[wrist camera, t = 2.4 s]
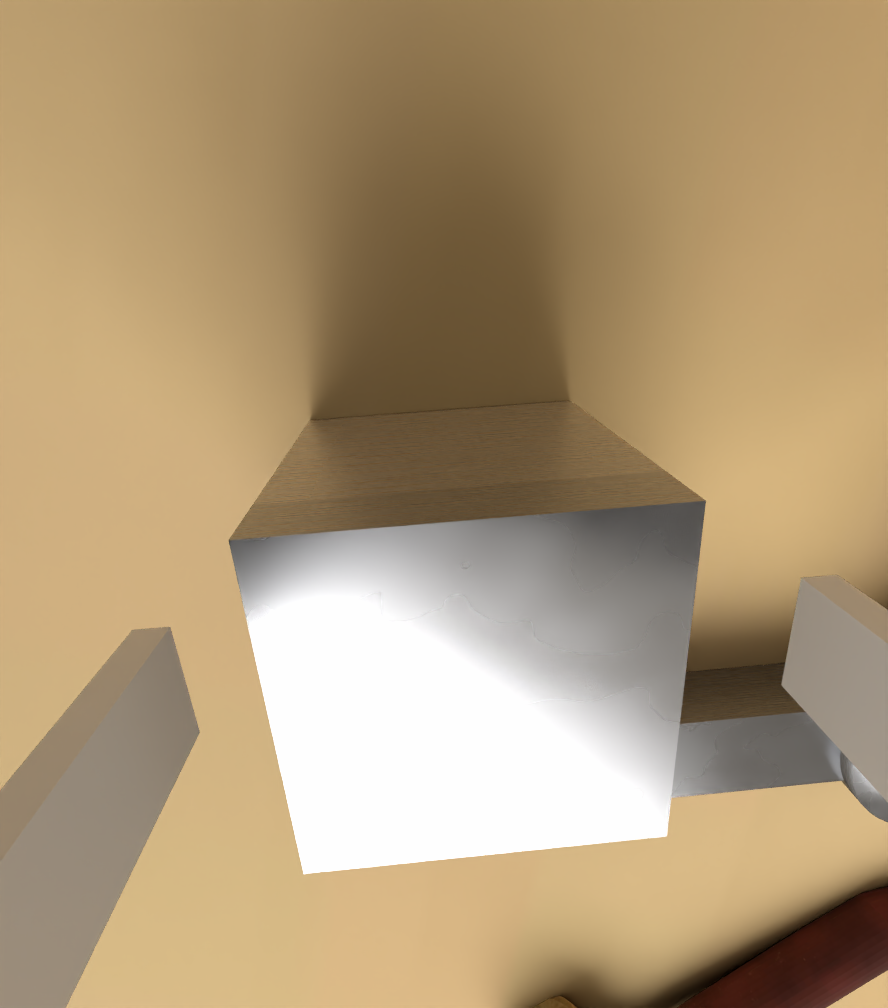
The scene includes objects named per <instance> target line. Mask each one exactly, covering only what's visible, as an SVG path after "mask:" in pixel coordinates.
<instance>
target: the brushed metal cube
mask: <svg viewBox="0 0 888 1008" xmlns="http://www.w3.org/2000/svg"><path fill="white" fill-rule="evenodd" d="M705 503H706V501H705V500H704V499H703V498H701V497H700V496H699V495H697V494H696V493H695V492H693V491H692V490H691V489H689V488H688V487H687V486H685V485H684V484H682V483H681V482H680V481H678V480H677V479H676V478H674V477H673V476H672V475H670V474H669V473H668V472H666V471H665V470H663V469H662V468H661V467H659V466H658V465H657V464H655V463H654V462H653V461H651V460H650V459H649V458H647V457H646V456H644V455H643V454H642V453H640V452H639V451H638V450H636V449H635V448H634V447H632V446H631V445H630V444H628V443H627V442H626V441H624V440H623V439H621V438H620V437H619V436H617V435H616V434H615V433H613V432H612V431H611V430H609V429H608V428H607V427H605V426H604V425H602V424H601V423H600V422H598V421H597V420H596V419H594V418H593V417H592V416H590V415H589V414H588V413H586V412H585V411H584V410H582V409H581V408H579V407H578V406H577V405H575V404H574V403H573V402H571V401H560V402H546V403H533V404H520V405H507V406H494V407H481V408H467V409H454V410H441V411H428V412H415V413H402V414H388V415H375V416H362V417H349V418H336V419H323V420H310V421H309V423H308V424H307V426H306V427H305V428H304V430H303V431H302V433H301V434H300V436H299V437H298V439H297V440H296V442H295V443H294V445H293V446H292V448H291V449H290V451H289V452H288V454H287V455H286V456H285V458H284V459H283V461H282V462H281V464H280V465H279V467H278V468H277V470H276V471H275V473H274V474H273V476H272V477H271V479H270V480H269V482H268V483H267V484H266V486H265V487H264V489H263V490H262V492H261V493H260V495H259V496H258V498H257V499H256V501H255V502H254V504H253V505H252V507H251V508H250V510H249V511H248V512H247V514H246V515H245V517H244V518H243V520H242V521H241V523H240V524H239V526H238V527H237V529H236V530H235V532H234V533H233V535H232V536H231V538H230V539H229V544H230V549H231V553H232V557H233V562H234V566H235V571H236V575H237V580H238V584H239V588H240V593H241V597H242V602H243V606H244V611H245V615H246V620H247V624H248V628H249V633H250V637H251V642H252V646H253V651H254V655H255V660H256V664H257V668H258V673H259V677H260V682H261V686H262V691H263V695H264V699H265V704H266V708H267V713H268V717H269V722H270V726H271V731H272V735H273V739H274V744H275V748H276V753H277V757H278V762H279V766H280V770H281V775H282V779H283V784H284V788H285V793H286V797H287V802H288V806H289V810H290V815H291V819H292V824H293V828H294V833H295V837H296V842H297V846H298V850H299V855H300V859H301V864H302V868H303V873H304V874H307V873H316V872H326V871H336V870H345V869H355V868H365V867H374V866H384V865H393V864H403V863H413V862H422V861H432V860H442V859H451V858H461V857H471V856H480V855H490V854H500V853H509V852H519V851H529V850H538V849H548V848H557V847H567V846H577V845H586V844H596V843H606V842H615V841H625V840H635V839H644V838H654V837H664V836H667V829H668V820H669V812H670V803H671V795H672V786H673V778H674V769H675V760H676V752H677V743H678V735H679V726H680V718H681V709H682V700H683V692H684V683H685V675H686V666H687V658H688V649H689V640H690V632H691V623H692V615H693V606H694V598H695V589H696V580H697V572H698V563H699V555H700V546H701V537H702V529H703V520H704V512H705Z"/></svg>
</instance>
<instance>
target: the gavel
mask: <svg viewBox="0 0 888 1008" xmlns="http://www.w3.org/2000/svg"><path fill="white" fill-rule="evenodd" d="M887 970H888V886H887V887H883V888H879V889H875V890H871V891H867V892H863V893H861V894H859V895H857V896H855V897H854V898H852V899H850V900H848V901H847V902H845V903H843V904H841V905H840V906H838V907H836V908H835V909H833V910H831V911H830V912H828V913H826V914H824V915H823V916H821V917H819V918H818V919H816V920H814V921H813V922H811V923H809V924H808V925H806V926H804V927H802V928H801V929H799V930H798V931H796V932H794V933H793V934H791V935H790V936H788V937H786V938H785V939H783V940H782V941H780V942H778V943H777V944H775V945H774V946H772V947H771V948H769V949H767V950H766V951H764V952H763V953H761V954H760V955H758V956H756V957H755V958H753V959H752V960H750V961H749V962H747V963H745V964H744V965H742V966H741V967H739V968H738V969H736V970H734V971H733V972H731V973H730V974H728V975H727V976H725V977H723V978H722V979H720V980H719V981H717V982H716V983H714V984H712V985H711V986H709V987H708V988H706V989H705V990H703V991H701V992H700V993H698V994H697V995H695V996H694V997H692V998H690V999H689V1000H687V1001H686V1002H684V1003H683V1004H681V1005H679V1006H678V1007H676V1008H826V1007H828V1006H830V1005H831V1004H833V1003H835V1002H836V1001H838V1000H839V999H841V998H843V997H844V996H846V995H848V994H849V993H851V992H852V991H854V990H856V989H857V988H859V987H861V986H862V985H864V984H866V983H867V982H869V981H870V980H872V979H874V978H875V977H877V976H879V975H880V974H882V973H884V972H885V971H887ZM533 1008H577V1007H576V1006H574V1005H573V1004H572V1003H570V1002H569V1001H568V1000H566V999H565V998H564V997H561V996H557V997H553V998H550V999H548V1000H546V1001H544V1002H542V1003H540V1004H538V1005H537V1006H535V1007H533Z"/></svg>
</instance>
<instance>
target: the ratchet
mask: <svg viewBox="0 0 888 1008" xmlns="http://www.w3.org/2000/svg"><path fill="white" fill-rule="evenodd" d="M784 667H785V663H778V664H768V665H757V666H746V667H735V668H725V669H714V670H703V671H693V672H686V675H685V683H684V692H683V700H682V709H681V718H680V726H679V735H678V743H677V752H676V760H675V769H674V778H673V786H672V795H671V798H675V797H684V796H694V795H704V794H714V793H724V792H734V791H744V790H753V789H763V788H773V787H783V786H793V785H803V784H813V783H823V782H832V781H842V782H843V783H844V784H845V785H846V787H847V788H848V789H849V790H850V791H851V792H852V794H853V795H854V796H855V797H856V798H857V799H858V800H859V802H860V803H861V804H862V805H863V806H864V807H865V808H866V809H867V810H868V811H869V812H870V813H871V814H873V815H874V816H876V817H877V818H879V819H882V820H884V821H886V822H888V802H887V801H886V800H885V799H884V798H883V797H882V796H881V794H880V793H879V792H878V791H877V790H876V789H875V788H874V787H873V786H872V785H871V783H870V782H869V781H868V780H867V779H866V778H865V777H864V776H863V775H862V774H861V772H860V771H859V770H858V769H857V768H856V767H855V766H854V765H853V764H852V762H851V761H850V760H849V759H848V758H847V757H846V756H845V755H844V754H843V753H842V751H841V750H840V749H839V748H838V747H837V746H836V745H835V744H834V743H833V742H832V740H831V739H830V738H829V737H828V736H827V735H826V734H825V733H824V732H823V731H822V729H821V728H820V727H819V726H818V725H817V724H816V723H815V722H814V721H813V720H812V718H811V717H810V716H809V715H808V714H807V713H806V712H805V711H804V710H803V709H802V707H801V706H800V705H799V704H798V703H797V702H796V701H795V700H794V699H793V698H792V696H791V695H790V694H789V693H788V692H787V691H786V690H785V689H784V688H783V686H782V685H781V683H782V678H783V673H784Z"/></svg>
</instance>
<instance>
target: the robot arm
mask: <svg viewBox="0 0 888 1008" xmlns="http://www.w3.org/2000/svg"><path fill="white" fill-rule="evenodd" d="M781 685H782V686H783V688H784V689H785V690H786V691H787V692H788V693H789V694H790V695H791V696H792V698H793V699H794V700H795V701H796V702H797V703H798V704H799V705H800V706H801V707H802V709H803V710H804V711H805V712H806V713H807V714H808V715H809V716H810V717H811V718H812V720H813V721H814V722H815V723H816V724H817V725H818V726H819V727H820V728H821V729H822V731H823V732H824V733H825V734H826V735H827V736H828V737H829V738H830V739H831V740H832V742H833V743H834V744H835V745H836V746H837V747H838V748H839V749H840V750H841V751H842V753H843V754H844V755H845V756H846V757H847V758H848V759H849V760H850V761H851V762H852V764H853V765H854V766H855V767H856V768H857V769H858V770H859V771H860V772H861V774H862V775H863V776H864V777H865V778H866V779H867V780H868V781H869V782H870V783H871V785H872V786H873V787H874V788H875V789H876V790H877V791H878V792H879V793H880V794H881V796H882V797H883V798H884V799H885V800H886V801H887V802H888V610H887V609H886V608H884V607H883V606H882V605H880V604H879V603H877V602H876V601H874V600H873V599H871V598H870V597H869V596H867V595H866V594H864V593H863V592H861V591H860V590H858V589H857V588H856V587H854V586H853V585H851V584H850V583H848V582H847V581H845V580H844V579H843V578H841V577H840V576H838V575H829V576H817V577H804V578H801V582H800V587H799V592H798V598H797V603H796V608H795V614H794V619H793V624H792V630H791V635H790V641H789V646H788V651H787V657H786V662H785V667H784V673H783V678H782V683H781ZM199 733H200V732H199V728H198V725H197V721H196V717H195V714H194V710H193V707H192V703H191V699H190V696H189V692H188V689H187V685H186V682H185V678H184V674H183V671H182V667H181V664H180V660H179V657H178V653H177V649H176V646H175V642H174V639H173V635H172V631H171V628H170V627H163V628H150V629H137V630H132V631H131V632H130V634H129V635H128V636H127V637H126V638H125V640H124V641H123V642H122V643H121V645H120V646H119V647H118V648H117V649H116V651H115V652H114V653H113V654H112V655H111V657H110V658H109V659H108V660H107V662H106V663H105V664H104V665H103V666H102V668H101V669H100V670H99V671H98V672H97V674H96V675H95V676H94V677H93V678H92V680H91V681H90V682H89V683H88V685H87V686H86V687H85V688H84V689H83V691H82V692H81V693H80V694H79V695H78V697H77V698H76V699H75V700H74V702H73V703H72V704H71V705H70V706H69V708H68V709H67V710H66V711H65V712H64V714H63V715H62V716H61V717H60V718H59V720H58V721H57V722H56V723H55V725H54V726H53V727H52V728H51V729H50V731H49V732H48V733H47V734H46V735H45V737H44V738H43V739H42V740H41V741H40V743H39V744H38V745H37V746H36V748H35V749H34V750H33V751H32V752H31V754H30V755H29V756H28V757H27V758H26V760H25V761H24V762H23V763H22V765H21V766H20V767H19V768H18V769H17V771H16V772H15V773H14V774H13V775H12V777H11V778H10V779H9V780H8V781H7V783H6V784H5V785H4V786H3V788H2V789H1V790H0V1008H66V1006H67V1004H68V1002H69V1000H70V998H71V996H72V994H73V992H74V990H75V988H76V985H77V983H78V981H79V979H80V977H81V975H82V973H83V971H84V969H85V967H86V965H87V963H88V961H89V959H90V957H91V955H92V953H93V951H94V948H95V946H96V944H97V942H98V940H99V938H100V936H101V934H102V932H103V930H104V928H105V926H106V924H107V922H108V920H109V918H110V916H111V914H112V912H113V909H114V907H115V905H116V903H117V901H118V899H119V897H120V895H121V893H122V891H123V889H124V887H125V885H126V883H127V881H128V879H129V877H130V875H131V872H132V870H133V868H134V866H135V864H136V862H137V860H138V858H139V856H140V854H141V852H142V850H143V848H144V846H145V844H146V842H147V840H148V838H149V835H150V833H151V831H152V829H153V827H154V825H155V823H156V821H157V819H158V817H159V815H160V813H161V811H162V809H163V807H164V805H165V803H166V801H167V798H168V796H169V794H170V792H171V790H172V788H173V786H174V784H175V782H176V780H177V778H178V776H179V774H180V772H181V770H182V768H183V766H184V764H185V761H186V759H187V757H188V755H189V753H190V751H191V749H192V747H193V745H194V743H195V741H196V739H197V737H198V735H199Z"/></svg>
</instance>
